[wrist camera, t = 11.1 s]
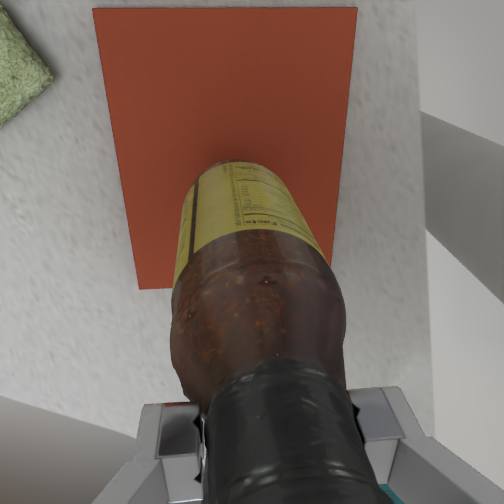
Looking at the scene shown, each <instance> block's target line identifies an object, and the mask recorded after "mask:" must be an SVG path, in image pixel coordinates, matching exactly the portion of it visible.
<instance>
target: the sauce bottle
mask: <svg viewBox="0 0 504 504" xmlns="http://www.w3.org/2000/svg"><path fill="white" fill-rule="evenodd" d="M171 308H172V323H171V324H172V327H171V332H170V351H171V361H172V365H173V368H174V369H175V370H176V373H177V375H178V377H179V379H180V382H181V386H182V388H183V393H184V395H185V396H186V397H187V398H188V399H189V400H190V402H195V401H200V402H201V409H202V417H203V418H204V420H205V425H204V437H205V446H206V449H207V457H208V473H207V480H208V487H209V504H394V502H393V501H392V500H391V498H390V497H389V496H388V495H387V494H386V493H385V492H384V491H383V490H382V489H381V488H380V487H379V485H378V482H377V479H376V476H375V473H374V470H373V468H372V465H371V463H370V461H369V458H368V456H367V453H366V451H365V448H364V446H363V443H362V441H361V436H360V434H359V432H358V430H357V427H356V423H355V415H354V410H353V406H352V403H351V400H350V399H349V397H348V395H347V391H346V380H345V369H344V358H343V346H342V345H343V341H344V337H345V331H346V310H345V304H344V299H343V296H342V293H341V289H340V287H339V284H338V282H337V280H336V277H335V275H334V273H333V271H332V270H331V268H330V266H329V264H328V262H327V261H326V259H325V257H324V255H323V253H322V251H321V249H320V248H319V246H318V244H317V242H316V240H315V238H314V236H313V235H312V233H311V231H310V229H309V227H308V225H307V223H306V221H305V219H304V218H303V216H302V214H301V213H300V211H299V209H298V207H297V205H296V204H295V202H294V200H293V198H292V196H291V194H290V193H289V191H288V189H287V187H286V186H285V185H284V183H283V182H282V181H281V179H280V178H279V177H278V176H277V175H276V174H275V173H273V172H272V171H271V170H269V169H267V168H266V167H264V166H263V165H259V164H258V163H255V162H252V161H247V160H243V159H241V158H230V159H228V160H225V161H221V162H218V163H216V164H215V165H213V166H211V167H209V168H207V169H206V170H205V171H203V172H201V173H200V174H199V175H198V176H197V177H196V178H195V179H194V181H193V183H192V184H191V187H190V190H189V192H188V194H187V196H186V198H185V201H184V205H183V209H182V217H181V225H180V232H179V241H178V250H177V258H176V266H175V273H174V282H173V291H172V300H171Z"/></svg>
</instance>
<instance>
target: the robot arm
mask: <svg viewBox="0 0 504 504" xmlns="http://www.w3.org/2000/svg"><path fill="white" fill-rule="evenodd" d="M346 391H347V395H348V397H349V399H350V400H351V403H352V406H353V410H354V415H355V423H356V427H357V430H358V432H359V434H360V436H361V441H362V443H363V446H364V448H365V451H366V453H367V456H368V458H369V461H370V463H371V465H372V468H373V470H374V473H375V476H376V479H377V482H378V484H388V486H389V487H390V488H391V489H392V490H393V492H394V493H395V494H396V495H397V496H398V497H399V498H400V499H401V500H402V501H403V502H404V503H405V504H504V490H502V489H501V488H500V487H498V486H497V485H496V484H494V483H493V482H492V481H490V480H489V479H487V478H486V477H485V476H483V475H482V474H481V473H480V472H478V471H477V470H476V469H474V468H473V467H472V466H470V465H469V464H468V463H466V462H465V461H464V460H462V459H461V458H460V457H458V456H457V455H455V454H454V453H453V452H451V451H450V450H449V449H447V448H446V447H445V446H443V445H442V444H441V443H439V442H438V441H437V440H435V439H434V438H433V437H426V436H425V434H424V432H423V430H422V428H421V426H420V425H419V423H418V421H417V419H416V417H415V415H414V413H413V411H412V409H411V408H410V406H409V404H408V402H407V400H406V398H405V396H404V394H403V392H402V390H401V389H400V388H399V387H398V386H391V387H379V388H378V387H374V388H362V389H351V390H346ZM203 458H204V432H203V421H202V409H201V402H200V401H195V402H173V403H157V404H144V406H143V408H142V411H141V416H140V422H139V427H138V433H137V439H136V444H135V450H134V455H133V461H128V462H126V463H125V464H124V465H123V467H122V468H121V469H120V470H119V472H118V473H117V474H116V475H115V476H114V478H112V480H111V481H110V482H109V483H108V484H107V486H106V487H105V488H104V489H103V490H102V492H101V493H100V494H99V495H98V496H97V497H96V499H95V500H94V501H93V502H92V503H91V504H170V503H178V502H187V501H195V500H203V476H204V474H203V463H202V460H203Z"/></svg>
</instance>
